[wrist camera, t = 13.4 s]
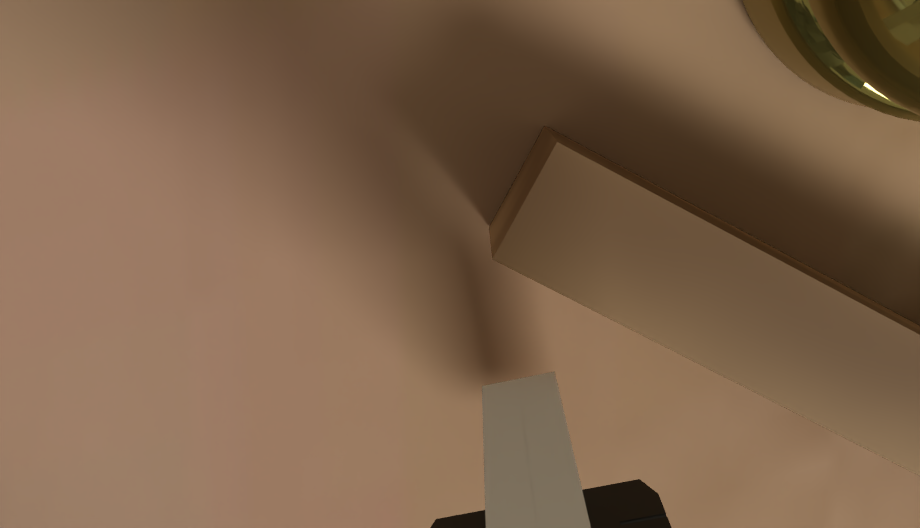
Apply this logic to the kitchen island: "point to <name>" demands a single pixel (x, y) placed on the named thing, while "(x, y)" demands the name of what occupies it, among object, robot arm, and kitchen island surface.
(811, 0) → the yellow-green tapered rounded piece
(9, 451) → the kitchen island surface
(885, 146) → the kitchen island surface
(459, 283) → the kitchen island surface
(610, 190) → the long rectangular block
